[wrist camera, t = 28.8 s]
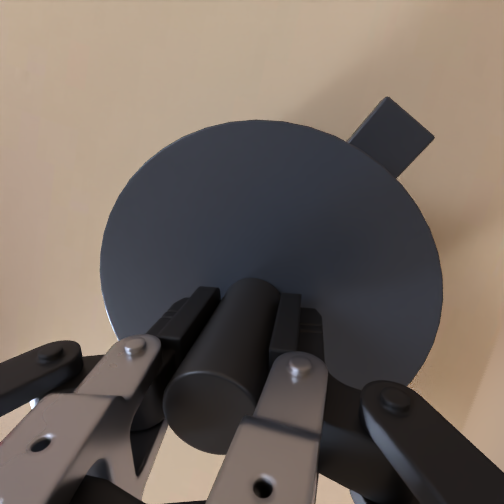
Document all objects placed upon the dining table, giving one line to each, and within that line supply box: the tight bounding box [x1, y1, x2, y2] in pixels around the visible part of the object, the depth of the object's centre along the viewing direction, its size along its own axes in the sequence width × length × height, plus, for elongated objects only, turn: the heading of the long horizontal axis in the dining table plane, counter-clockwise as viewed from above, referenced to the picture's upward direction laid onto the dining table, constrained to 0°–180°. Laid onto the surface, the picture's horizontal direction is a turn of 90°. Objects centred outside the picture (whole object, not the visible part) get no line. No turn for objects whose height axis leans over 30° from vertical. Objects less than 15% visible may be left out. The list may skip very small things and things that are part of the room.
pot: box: [347, 97, 435, 178], centre depth 18 cm, size 13×18×10 cm
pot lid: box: [100, 120, 443, 455], centre depth 10 cm, size 14×14×7 cm
